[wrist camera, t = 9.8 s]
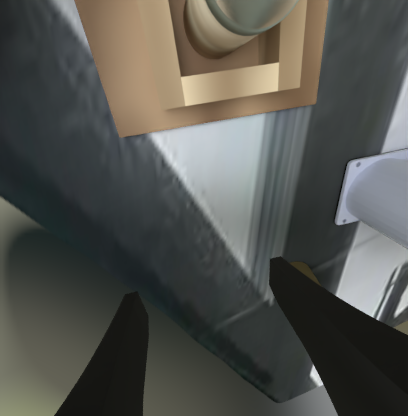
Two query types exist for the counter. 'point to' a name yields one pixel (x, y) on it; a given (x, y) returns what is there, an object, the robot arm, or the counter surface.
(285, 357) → the counter surface
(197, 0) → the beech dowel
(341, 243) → the counter surface
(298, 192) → the counter surface
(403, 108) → the counter surface
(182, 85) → the socket board
